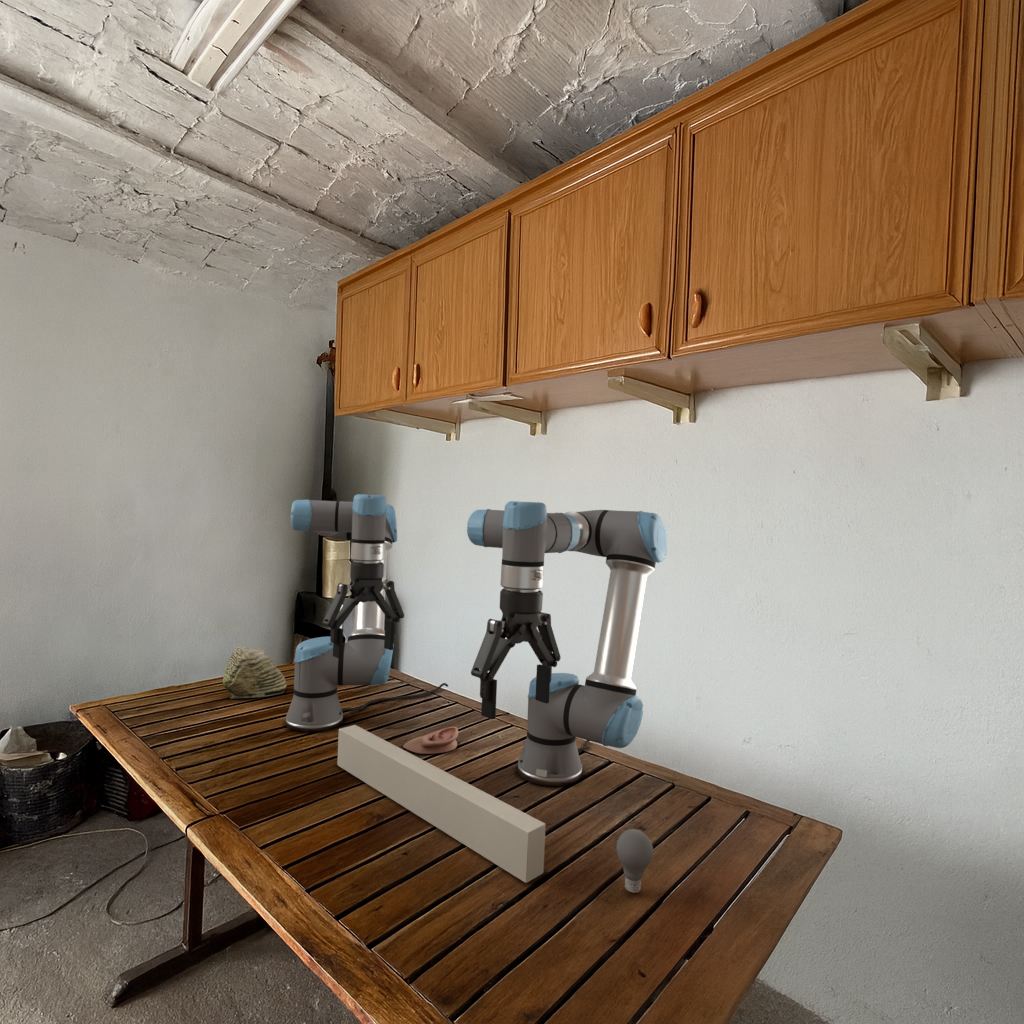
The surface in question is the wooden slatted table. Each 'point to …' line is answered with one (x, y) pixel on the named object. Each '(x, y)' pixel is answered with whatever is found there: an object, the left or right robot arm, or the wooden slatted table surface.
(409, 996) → the wooden slatted table surface
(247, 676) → the fossil
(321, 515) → the left robot arm
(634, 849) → the light bulb
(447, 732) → the anatomical model
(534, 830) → the bar
